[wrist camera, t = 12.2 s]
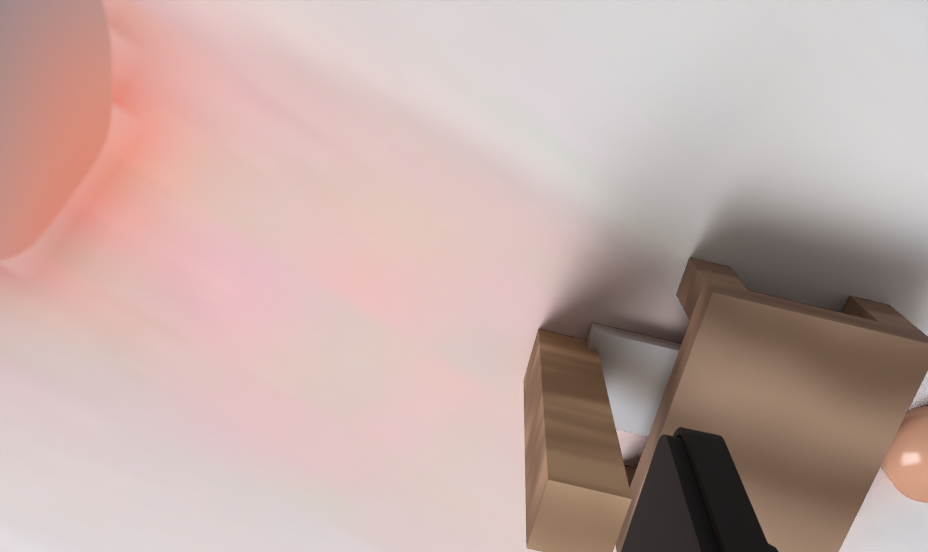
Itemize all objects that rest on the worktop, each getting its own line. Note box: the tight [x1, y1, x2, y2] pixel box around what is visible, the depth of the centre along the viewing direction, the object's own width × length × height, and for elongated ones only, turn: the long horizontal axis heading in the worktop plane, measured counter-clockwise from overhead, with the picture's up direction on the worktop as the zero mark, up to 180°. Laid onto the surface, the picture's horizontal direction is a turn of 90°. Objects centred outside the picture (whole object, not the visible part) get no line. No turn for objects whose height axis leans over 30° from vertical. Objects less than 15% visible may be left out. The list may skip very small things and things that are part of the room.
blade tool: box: [524, 323, 681, 552], centre depth 34 cm, size 5×18×13 cm, turn 77°
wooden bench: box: [616, 258, 928, 552], centre depth 38 cm, size 14×10×5 cm
